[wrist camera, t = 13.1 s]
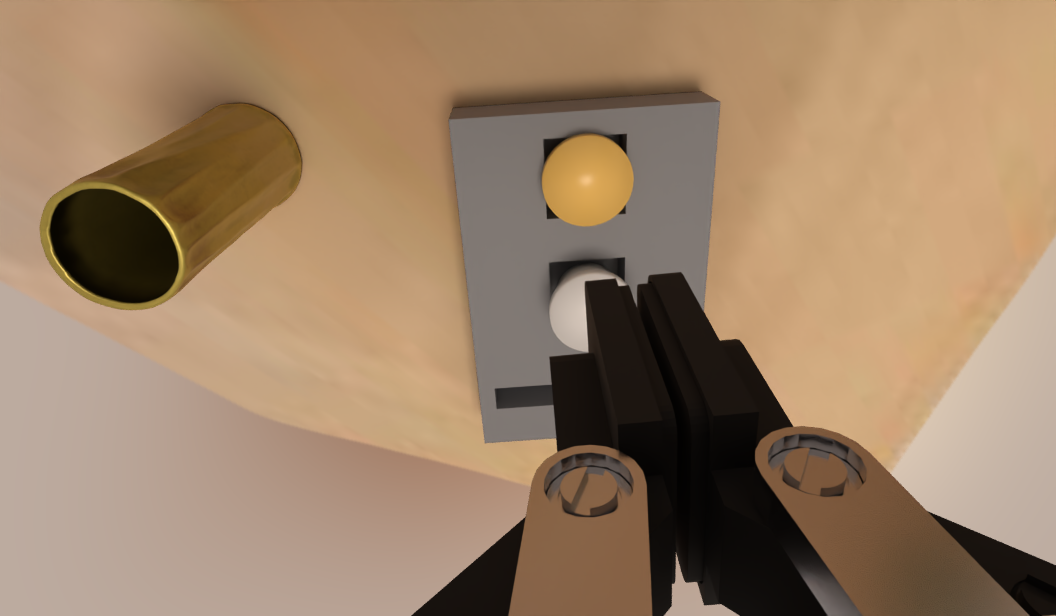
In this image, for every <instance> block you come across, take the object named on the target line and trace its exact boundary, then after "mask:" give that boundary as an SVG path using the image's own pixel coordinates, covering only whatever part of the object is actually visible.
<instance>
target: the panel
mask: <svg viewBox="0 0 1056 616" xmlns="http://www.w3.org/2000/svg"><path fill="white" fill-rule="evenodd" d="M719 113H720V101H718V100H716V99H714V98H712V97H711V96H709V95H707V94H705V93H703V92H686V93H671V94H656V95H641V96H625V97H610V98H595V99H580V100H565V101H550V102H535V103H519V104H504V105H489V106H474V107H459V108H453V109H452V112H451V115H450V117H449V129H450V138H451V147H452V155H453V164H454V173H455V182H456V191H457V200H458V209H459V218H460V227H461V236H462V245H463V253H464V262H465V271H466V280H467V289H468V298H469V307H470V316H471V325H472V334H473V343H474V351H475V360H476V369H477V378H478V387H479V396H480V405H481V414H482V423H483V432H484V440H485V443H495V442H509V441H523V440H538V439H552V438H556V429H555V417H554V406H553V394H552V383H551V371H550V360H549V357H550V356H561V355H571V354H582V353H589V352H583V351H578V350H575V349H572V348H570V347H568V346H567V345H565V344H564V343H563V342H562V341H560V340H559V338H558V337H557V336H556V334H555V333H554V331H553V329H552V326H551V322H550V315H549V304H550V300H551V297H552V294H553V292H554V291H555V289H556V288H557V285H558V282H559V280H560V278H561V276H562V275H563V274H564V273H565V272H566V271H567V270H568V269H570V268H571V267H573V266H575V265H578V264H582V263H595V264H599V265H601V266H603V267H605V268H606V269H608V270H609V271H610V272H611V273H614V274H615V275H617V276H619V277H620V278H621V279H622V280H623V281H624V282H625V283H626V284H627V285H629V287H630V289H631V292H632V295H633V297H634V300H635V303H636V306H637V285H638V284H645V283H648V277H649V275H654V274H664V273H675V272H682V274H683V275H684V277H685V279H686V281H687V282H688V284H689V286H690V288H691V290H692V291H693V293H694V295H695V297H696V299H697V301H698V302H699V304H700V306H701V308H702V310H703V311H704V302H705V289H706V277H707V264H708V251H709V239H710V226H711V214H712V201H713V188H714V176H715V163H716V150H717V138H718V125H719ZM585 133H592V134H599V135H602V136H605V137H607V138H609V139H611V140H613V141H614V142H615V143H616V144H618V145H619V146H620V148H621V149H622V150H623V151H624V153H625V154H626V155H627V157H628V159H629V161H630V163H631V166H632V169H633V176H634V182H633V189H632V193H631V196H630V198H629V200H628V202H627V204H626V205H625V206H624V208H623V209H622V210H621V211H620V212H619V213H618V214H617V215H616V216H615V217H613V218H612V219H610V220H608V221H607V222H604V223H602V224H599V225H595V226H576V225H572V224H570V223H567V222H565V221H563V220H562V219H560V218H559V217H558V216H556V215H555V214H554V213H553V212H552V210H551V209H550V208H549V206H548V204H547V202H546V200H545V197H544V194H543V189H542V170H543V167H544V164H545V161H546V159H547V157H548V156H549V154H550V153H551V152H552V150H553V149H554V148H555V147H556V146H557V145H558V144H560V143H561V142H562V141H564V140H566V139H567V138H569V137H572V136H575V135H578V134H585Z"/></svg>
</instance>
